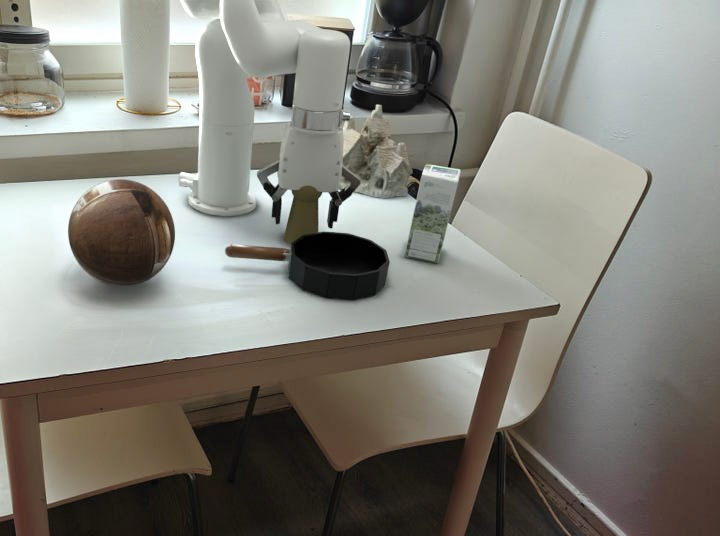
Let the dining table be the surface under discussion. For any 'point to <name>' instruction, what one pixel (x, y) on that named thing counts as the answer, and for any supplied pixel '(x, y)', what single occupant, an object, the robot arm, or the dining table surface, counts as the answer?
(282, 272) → the dining table surface
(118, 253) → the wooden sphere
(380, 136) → the ceramic cottage
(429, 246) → the syrup box
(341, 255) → the frying pan
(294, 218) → the olive game pawn
